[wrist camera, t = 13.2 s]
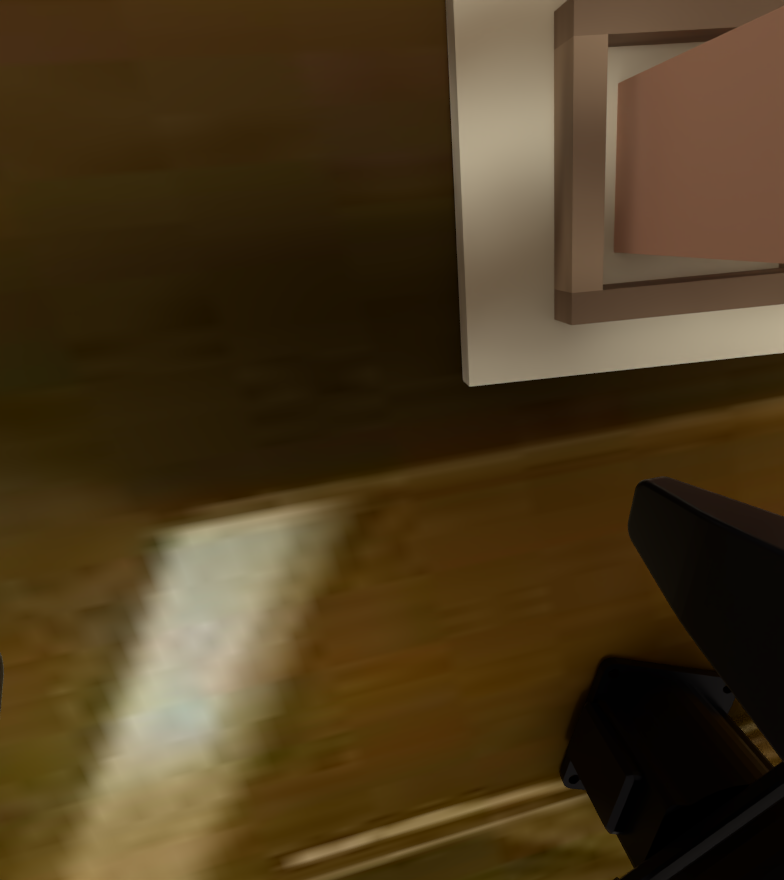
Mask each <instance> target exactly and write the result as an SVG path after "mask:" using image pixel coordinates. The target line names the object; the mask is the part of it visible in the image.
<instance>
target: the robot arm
mask: <svg viewBox="0 0 784 880" xmlns="http://www.w3.org/2000/svg"><path fill="white" fill-rule="evenodd" d="M628 532H629V536H630V538H631V541H632V542H633V544H634V546H635V547H636V549H637V551H638V553H639V554H640V556H641V558H642V559H643V561H644V563H645V564H646V566H647V568H648V569H649V571H650V573H651V574H652V576H653V578H654V579H655V581H656V583H657V584H658V586H659V588H660V589H661V591H662V593H663V594H664V596H665V598H666V600H667V601H668V603H669V605H670V606H671V608H672V609H673V611H674V613H675V614H676V616H677V617H678V619H679V621H680V622H681V623H682V625H683V626H684V628H685V629H686V631H687V632H688V633H689V635H690V636H691V638H692V639H693V640H694V642H695V643H696V644H697V646H698V647H699V648H700V650H701V651H702V652H703V654H704V655H705V657H706V658H707V659H708V661H709V662H710V663H711V665H712V666H713V667H714V669H715V670H716V671H717V672H716V671H708V670H701V669H693V668H686V667H678V666H671V665H664V664H656V663H649V662H641V661H634V660H626V659H619V658H608V659H606V660H604V661H603V662H602V663H601V665H600V666H599V669H598V672H597V674H596V677H595V680H594V682H593V685H592V688H591V690H590V693H589V696H588V698H587V701H586V704H585V705H584V707H583V709H582V711H581V714H580V717H579V719H578V722H577V725H576V727H575V730H574V733H573V735H572V738H571V741H570V744H569V746H568V749H567V755H566V757H565V760H564V763H563V765H562V768H561V771H560V777H561V779H562V781H563V783H564V785H565V786H566V787H567V788H572V789H583V790H586V792H587V794H588V796H589V797H590V799H591V801H592V803H593V805H594V807H595V809H596V811H597V813H598V815H599V817H600V819H601V821H602V823H603V825H604V827H605V828H606V830H607V831H608V832H609V833H610V834H616V835H617V837H618V838H619V840H620V842H621V844H622V846H623V848H624V850H625V852H626V854H627V856H628V858H629V859H630V861H631V863H632V865H633V867H634V869H632V870H631V871H630V872H628V873H627V874H626V875H624V876H623V877H621V878H620V879H619V878H618V877H616V878H615V879H614V880H784V517H783V516H780V515H777V514H774V513H772V512H769V511H766V510H763V509H760V508H757V507H754V506H751V505H748V504H745V503H742V502H739V501H736V500H734V499H731V498H728V497H725V496H722V495H719V494H716V493H713V492H710V491H707V490H704V489H701V488H698V487H695V486H693V485H690V484H687V483H684V482H681V481H678V480H675V479H672V478H669V477H657V478H651V479H646V480H643V481H641V482H639V484H638V485H637V486H636V489H635V493H634V498H633V502H632V507H631V511H630V516H629V521H628ZM612 669H615V670H614V671H613V672H611V673H609V672H610V671H611V670H612ZM3 676H4V668H3V660H2V656H1V653H0V710H1V699H2V688H3ZM725 685H726V686H725ZM724 686H725V687H724ZM735 697H736V699H737V700H738V701H739V703H740V704H741V705H742V707H743V708H744V709H745V711H746V712H747V713H748V715H749V716H750V718H751V719H752V720H753V722H754V723H755V724H756V726H757V727H758V728H759V730H760V731H761V732H762V734H763V735H764V736H765V738H766V739H767V741H768V742H769V743H770V745H771V746H772V747H773V749H774V750H775V751H776V753H777V754H778V755H779V757H780V758H781V760H782V762H781V763H779V764H778V765H777V766H775V767H774V766H773V765H772V764H771V763H770V762H769V761H768V759H767V758H766V757H765V756H764V755H763V754H762V753H761V752H760V750H759V749H758V748H757V747H756V746H755V745H754V744H753V742H752V741H751V740H750V739H749V738H748V737H747V736H746V735H745V733H744V732H743V731H742V730H741V729H740V728H739V727H738V726H737V724H736V723H735V722H734V721H733V720H732V719H731V718H730V716H729V715H728V712H729V710H730V708H731V706H732V703H733V701H734V699H735ZM572 775H574V776H572ZM570 776H572V777H570Z"/></svg>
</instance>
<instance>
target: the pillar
mask: <svg viewBox="0 0 784 880" xmlns="http://www.w3.org/2000/svg"><path fill="white" fill-rule="evenodd" d="M614 252H615V253H630V254H645V255H661V256H676V257H691V258H706V259H721V260H737V261H752V262H767V263H782V264H784V6H782V7H780V8H778V9H776V10H773V11H771V12H769V13H767V14H765V15H763V16H761V17H759V18H756V19H754V20H752V21H750V22H748V23H746V24H744V25H741V26H739V27H737V28H735V29H733V30H731V31H729V32H726V33H724V34H722V35H720V36H718V37H716V38H714V39H712V40H709V41H707V42H705V43H703V44H701V45H699V46H697V47H694V48H692V49H690V50H688V51H686V52H684V53H682V54H680V55H677V56H675V57H673V58H671V59H669V60H667V61H665V62H662V63H660V64H658V65H656V66H654V67H652V68H650V69H647V70H645V71H643V72H641V73H639V74H637V75H635V76H633V77H630V78H628V79H626V80H624V81H622V82H620V83H618V103H617V141H616V180H615V219H614Z"/></svg>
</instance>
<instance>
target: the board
mask: <svg viewBox="0 0 784 880" xmlns="http://www.w3.org/2000/svg"><path fill="white" fill-rule="evenodd" d="M782 6H784V0H446V20H447V42H448V64H449V86H450V108H451V131H452V153H453V175H454V197H455V219H456V241H457V263H458V285H459V308H460V330H461V352H462V374H463V381H464V382H465V383H466V384H467V385H468V386H469V387H471V386H480V385H490V384H499V383H508V382H517V381H527V380H536V379H545V378H554V377H563V376H573V375H582V374H591V373H600V372H610V371H619V370H628V369H637V368H647V367H656V366H665V365H674V364H684V363H693V362H702V361H711V360H720V359H730V358H739V357H748V356H757V355H767V354H776V353H784V264H782V263H767V262H752V261H737V260H721V259H706V258H691V257H676V256H661V255H645V254H630V253H615V252H614V219H615V180H616V141H617V103H618V83H620V82H622V81H624V80H626V79H628V78H630V77H633V76H635V75H637V74H639V73H641V72H643V71H645V70H647V69H650V68H652V67H654V66H656V65H658V64H660V63H662V62H665V61H667V60H669V59H671V58H673V57H675V56H677V55H680V54H682V53H684V52H686V51H688V50H690V49H692V48H694V47H697V46H699V45H701V44H703V43H705V42H707V41H709V40H712V39H714V38H716V37H718V36H720V35H722V34H724V33H726V32H729V31H731V30H733V29H735V28H737V27H739V26H741V25H744V24H746V23H748V22H750V21H752V20H754V19H756V18H759V17H761V16H763V15H765V14H767V13H769V12H771V11H773V10H776V9H778V8H780V7H782Z"/></svg>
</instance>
